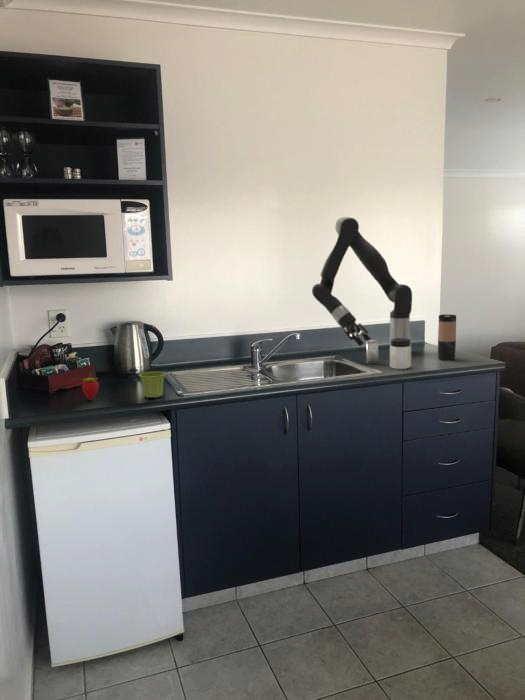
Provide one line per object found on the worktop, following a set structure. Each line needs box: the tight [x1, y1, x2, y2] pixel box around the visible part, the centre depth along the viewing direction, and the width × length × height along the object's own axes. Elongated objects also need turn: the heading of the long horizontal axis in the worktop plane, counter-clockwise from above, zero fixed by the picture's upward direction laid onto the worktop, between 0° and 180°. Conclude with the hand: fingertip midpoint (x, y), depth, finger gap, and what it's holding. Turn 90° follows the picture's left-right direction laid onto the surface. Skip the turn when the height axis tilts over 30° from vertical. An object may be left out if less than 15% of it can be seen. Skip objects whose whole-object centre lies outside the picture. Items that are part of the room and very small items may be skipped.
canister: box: [365, 339, 379, 365], centre depth 253 cm, size 5×5×10 cm
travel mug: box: [437, 314, 457, 361], centre depth 254 cm, size 8×8×20 cm
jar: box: [389, 338, 412, 370], centre depth 241 cm, size 9×8×12 cm
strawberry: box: [81, 373, 100, 400], centre depth 201 cm, size 6×8×10 cm
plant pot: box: [138, 370, 167, 398], centre depth 203 cm, size 9×9×9 cm
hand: (366, 343), depth 254 cm, fingers open, 8 cm apart
